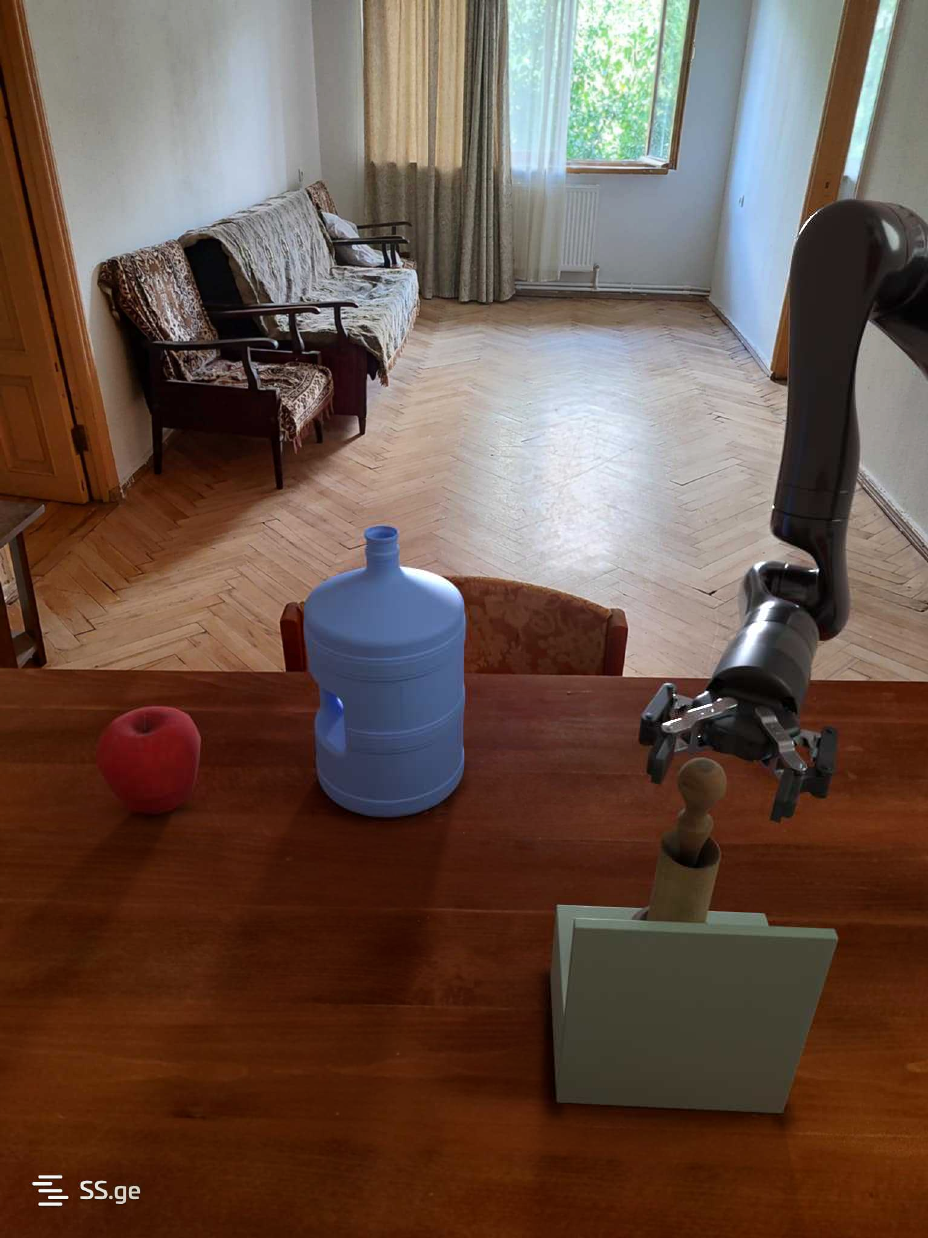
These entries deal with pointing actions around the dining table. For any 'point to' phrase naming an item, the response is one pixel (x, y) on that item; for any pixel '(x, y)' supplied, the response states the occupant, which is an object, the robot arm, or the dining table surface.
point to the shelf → (682, 1008)
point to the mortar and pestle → (688, 850)
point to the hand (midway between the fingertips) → (715, 793)
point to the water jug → (387, 683)
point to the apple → (150, 758)
